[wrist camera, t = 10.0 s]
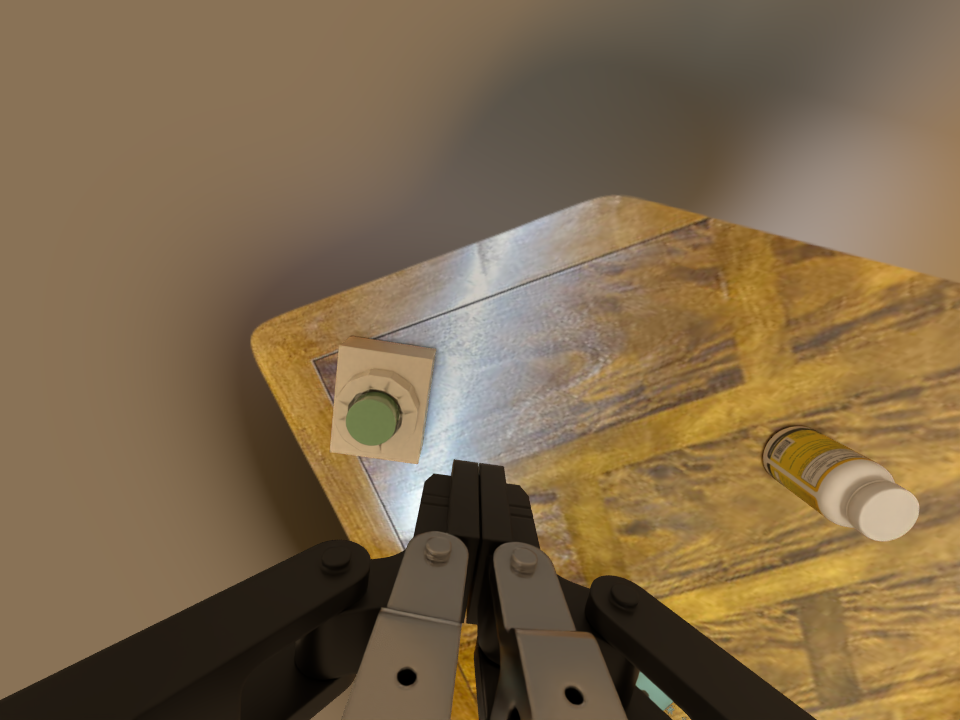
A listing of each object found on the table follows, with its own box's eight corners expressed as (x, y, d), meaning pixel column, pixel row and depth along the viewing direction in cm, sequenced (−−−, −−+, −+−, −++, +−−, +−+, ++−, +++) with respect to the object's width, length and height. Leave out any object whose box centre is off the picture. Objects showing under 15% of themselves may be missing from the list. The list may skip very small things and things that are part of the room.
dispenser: (351, 335, 41) (331, 350, 35) (436, 348, 42) (430, 365, 36) (342, 433, 44) (322, 462, 38) (422, 445, 44) (415, 475, 38)
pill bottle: (818, 476, 46) (923, 547, 35) (758, 482, 46) (845, 554, 35) (824, 420, 44) (936, 476, 33) (762, 426, 44) (854, 484, 34)
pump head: (354, 387, 37) (347, 396, 35) (402, 394, 37) (398, 403, 35) (350, 431, 38) (343, 442, 36) (396, 438, 38) (392, 449, 36)
